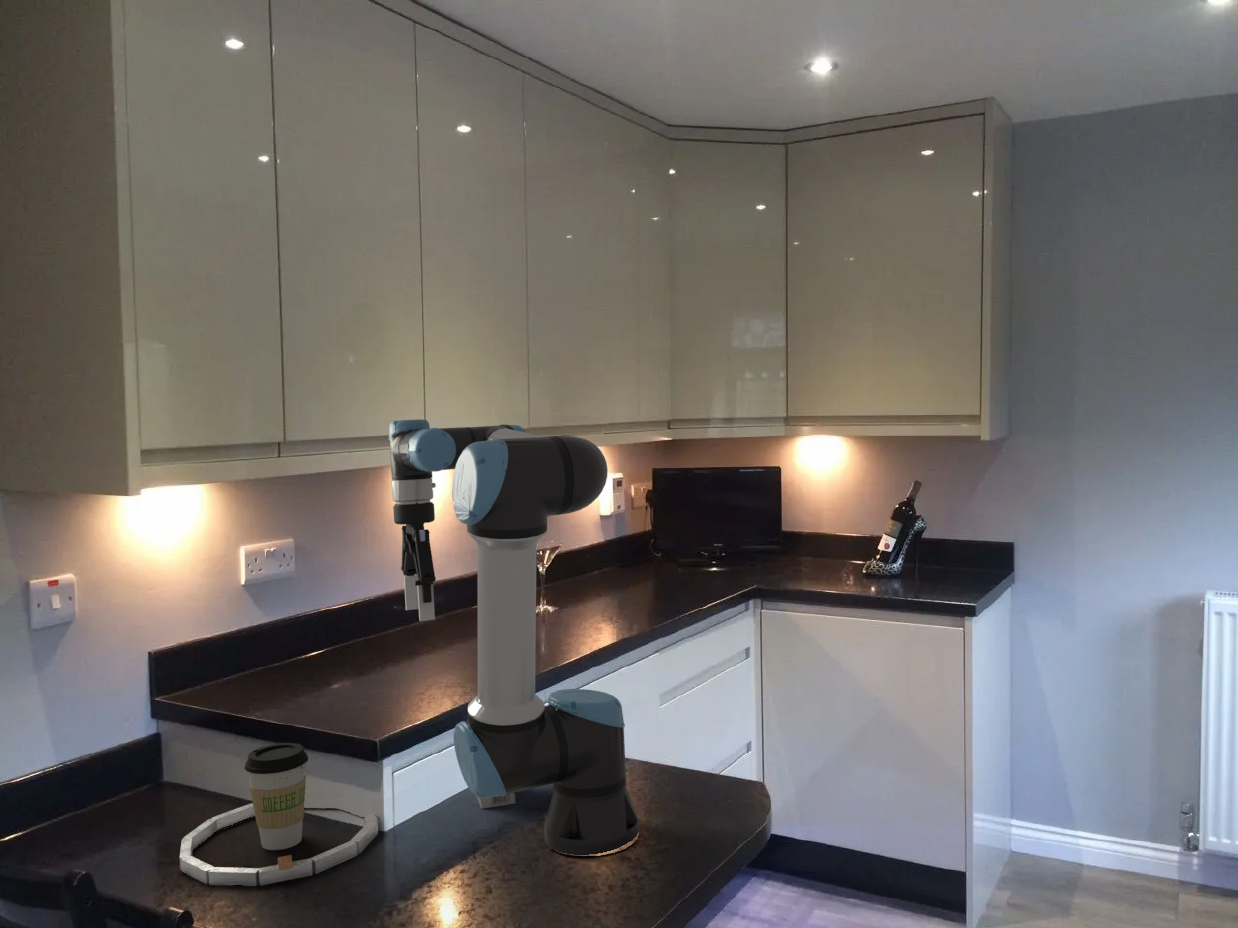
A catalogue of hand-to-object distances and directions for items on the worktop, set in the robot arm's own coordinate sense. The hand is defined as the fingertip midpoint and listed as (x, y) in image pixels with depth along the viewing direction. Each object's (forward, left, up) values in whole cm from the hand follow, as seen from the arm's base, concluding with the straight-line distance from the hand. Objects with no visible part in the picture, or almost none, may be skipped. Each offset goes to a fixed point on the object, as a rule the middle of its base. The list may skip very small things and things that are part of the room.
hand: (419, 614), depth 188 cm
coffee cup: (-18, +27, -31) cm, 45 cm away
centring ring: (-18, +27, -31) cm, 45 cm away
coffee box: (-16, -9, -31) cm, 36 cm away
